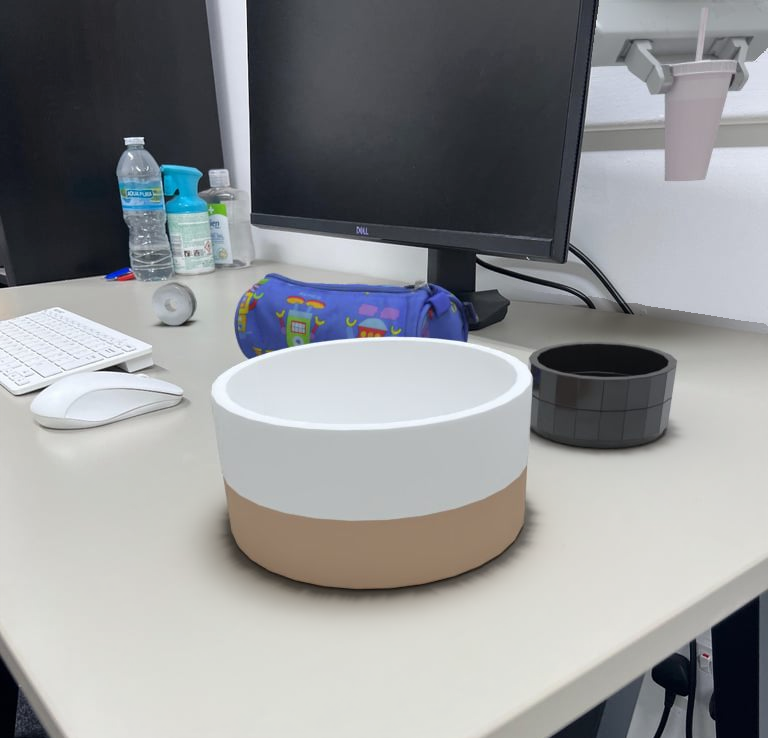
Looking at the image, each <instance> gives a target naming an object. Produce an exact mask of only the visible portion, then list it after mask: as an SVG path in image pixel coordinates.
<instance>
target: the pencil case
mask: <svg viewBox="0 0 768 738" xmlns="http://www.w3.org/2000/svg"><path fill="white" fill-rule="evenodd" d="M479 321H480V319H479V317H478V314H477V313H476V310H475V307H474V304H473V302H469V301H463V302H461V300H459V298H458V297H456V296H455V295H454V294H453V293H451V292H450V291H448V290H447V289H445V288H444V287H441V286H439V285H435V284H434V283H429V282H426V279H423V278H421V279H417V280H415V281H414V283H413V282H412V283H407V284H404V285H403V286H400V285H393V284H391V285H390V284H377V285H374V284H373V285H372V284H364V283H348V284H347V283H345V284H343V283H323V282H321V283H320V282H306V281H301V280H295V279H293V278H289V277H287V276H284V275H282V274H279V273H276V272H271V273H267V274H266V275H265V276H264V278H261V279H260V280H259V281H258V282H257V283H254V284H253V285H252V287H250V288H249V289H248V290H246V291H244V293H243V295H242V296H240V299H239V301H238V302H237V305H236V309H235V312H234V317H233V323H234V324H233V325H234V334H235V339H236V342H237V345H238V347H239V349H240V351H241V353H242V355H244V357H245V358H246V359H247V360H249V359H251V358H254V357H257V356H260V355H263V354H266V353H269V352H273V351H277V350H281V349H285V348H289V347H295V346H300V345H305V344H311V343H318V342H325V341H333V340H342V339H355V338H372V337H418V338H434V339H444V340H453V341H461V342H466V343H468V340H469V323H471V324H474V325H476V324H477V323H478V322H479Z"/></svg>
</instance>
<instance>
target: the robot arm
mask: <svg viewBox="0 0 768 738" xmlns="http://www.w3.org/2000/svg"><path fill="white" fill-rule="evenodd" d="M704 7H709V8H708V15H707V23H706V31H705V39H704V46H703V54H702V60H735V61H737V66H736V73H735V74H732V77H731V81H730V85H729V89H728V92H740V91H742V89H743V88H744V86H745V85H746V84H747V82H748V81H749V79H750V75H749V71H748V69H747V67H746V64H745V63H749V62H750V63H754V62H753V61H755V60H756V59H757V58H758V57H759V56H760V55H761V54H762V53H764V51H766V49H767V48H768V0H599V7H598V14H597V20H596V28H595V35H594V43H593V53H592V63H591V67H590V68H599V67H600V68H601V67H602V68H603V67H604V68H605V67H626V68H627V70H628V72H630V73H631V74H632V75H633V76H635V77H636V78H638V79H639V80H640V81H641V82H642V83H645V85H646V88H647V89H648V92H649V94H650V95H651V96H656V95H665V94H667V93H668V91H669V88H670V87H671V86H672V84H673V82H674V75H673V74H672V73H671V68H670V66H669V65H672V64H679V63H687V62H695V59H696V51H697V43H698V35H699V27H700V19H701V11H702V8H704Z"/></svg>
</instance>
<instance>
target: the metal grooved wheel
mask: <svg viewBox="0 0 768 738" xmlns="http://www.w3.org/2000/svg"><path fill="white" fill-rule="evenodd" d="M171 300H172V301H173V302H174V303H175V304H176V305H175V306H176V308H174V307H172V305H171ZM151 307H152V310H153V313H154V314H155V316H156V317H157V318H158V320H159V321H161V323H164V324H166V325H169V326H173V327H174V326H180V325H183V324H184V323H186V322H188V321H189V320H191V319H192V318H193V317H194V316H195V314H196V312H197V308H198V302H197V298H196V295H195V293H194V292H193V290H192V289H191V288H190V287H189V286H188V285H187V284H184V283H183V282H179V281H172V282H169V283H166V284H164V285H161V286H159V287H158V288H156V290H155V291H154V292H153V294H152V296H151Z"/></svg>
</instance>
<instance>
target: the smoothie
mask: <svg viewBox="0 0 768 738" xmlns="http://www.w3.org/2000/svg"><path fill="white" fill-rule="evenodd" d="M708 8H709V7H704V8H702V11H701V19H700V27H699V35H698V43H697V51H696V59H695V62H687V63H679V64H668V65H669V66H670V68H671V73H672V74H673V75H674V82H673V84H672V86H671V87H670V88H669V91H668V93H667V94H664V181H665V182H692V181H693V182H696V181H704V180H706V178H707V174H708V171H709V166H710V163H711V159H712V154H713V150H714V147H715V143H716V139H717V136H718V131H719V129H720V123H721V121H722V120H721V119H722V116H723V111H724V108H725V105H726V100H727V98H728V94H729V91H728V89H729V85H730V81H731V77H732V74H735V73H736V66H737V61H735V60H702V54H703V46H704V39H705V31H706V23H707V15H708Z"/></svg>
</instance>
